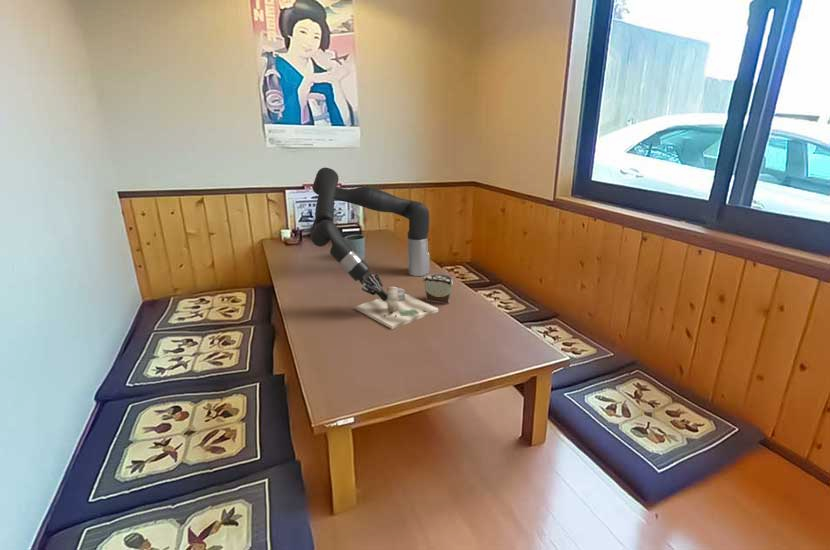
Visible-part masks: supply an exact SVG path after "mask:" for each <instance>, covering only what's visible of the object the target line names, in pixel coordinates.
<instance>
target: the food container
mask: <svg viewBox="0 0 830 550" xmlns="http://www.w3.org/2000/svg"><path fill="white" fill-rule="evenodd" d="M422 282H424V290H425V298H426V301H428V302H434V303H439V304H440V303H441V304H447V305H449V304H450V298H451V290H452V286H453V285H454V282H453V278H452V277H451V276H450V275H448V274H444V273H431V274H430V273H429V274H426V275H424V276H423V279H422Z"/></svg>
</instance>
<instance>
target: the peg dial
mask: <svg viewBox="0 0 830 550" xmlns="http://www.w3.org/2000/svg"><path fill="white" fill-rule="evenodd" d="M405 292H406V291H405V289H404V288H400V287H396V286H389V287H387V288H386V294H387V303H388V310H390V311H389V313H390V314H393V312H394V311H395V310H398V301H401V300H404V299H405V294H406V293H405Z"/></svg>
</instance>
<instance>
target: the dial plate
mask: <svg viewBox="0 0 830 550" xmlns="http://www.w3.org/2000/svg"><path fill="white" fill-rule="evenodd" d="M355 310H357V311H358V312H360V313H362V314H365V315H366V316H368V317H369V318H371V319H373V320H375V321H376V322H378V323H380V324H382V325H383V326H385V327H388V328H390V330H393V329H396V328H399V327H402V326H404V325H406V324H410V323H412V322H415V321H417V320H419V319H420V320H421V319H422V318H426V317H428V316H430V315H432V314H435V313H438V312H439V308H438V307H436V306H434V305H432V304H430V303H427V302H424V301H422V300H420V299H418V298H415V297H414V296H412V295H409V294H407V293H405V299H404V300H401V301H398V310H395V311H394V312H393V314H390V313H389V311H390V310H388V303H387V300H385V301H383V300H382V299H381V298H380V297H379V298H376V299H373V300H371V301H367V302H364V303H362V304H359V305H355Z"/></svg>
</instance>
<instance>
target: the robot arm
mask: <svg viewBox="0 0 830 550" xmlns="http://www.w3.org/2000/svg"><path fill="white" fill-rule="evenodd" d="M338 183H339V175H338V173H337V171H335V170H334V169H332V168H331V167H322V168H319V170H318V171H317V173H316V175H315V178H314V181H313V184H312V191H313V192H314V193H315V195H317V200H316V205H315V212H314V220H313V223H312V226H311V230H310V234H309V237H310V239H311V242H312V243H313V244H314V245H315V246H317V247H325V246H326V245H327V244H328V243H329V242H330V243H331V244H332V245H331V247H330V250H329V253H330V254H329V255H331V256H332V258H334V260H335V261H336V262H337V263H338V264H339V265H340V266H341V268H342V269H343V270H344V271H345V272H346V273H347V274H348V275H349V276H350V277H351V278H352V280H354V281H355V282H357V281H359V283H360V284H361V285H362V288H361V290H362V291H363V292H365V293H367V294H370V295H372V296H375V295H376V296H378V297H379V298H381V299H382V300H383V301H385V300H387V292H385V291H384V290H383V287H384V284H383V283H382V280H381V278H380V276H379V274H378V273H376V274H374V273H372V272H371V271H370V269H371V267H370V266H369V264H368V263H366V261H365V259H364V260H363V259H362V258H361V257H360V256H359V255H358V254H357V253H355V252H354V251H353V250H352V249H351V248H350V247H349V246H348V245H347V244H346V242H345V238H344V237H343V236H342V234H341V232H340V230H339V228H338V226H337V225H336V224H335V223H334V219H335V215H334V214H335V201H339V202H340V201H341V202H344V203H348V204H352V205H356V206H359V207H362V208H364V209H368V210H372V211H375V212H381V213H390V214H391V213H392V214H395V215H399V216H401V217H403V218H406V219H407V220H409V221H408V222H409V224H408V227H409V229H408V231H407V258H408V259H407V260H408V261H407V263H408V265H407V266H408V267H407V268H408V275H410V276H415V277H421V276H423V277H424V276H426V275H429V274H430V272H431V271H430V270H431V269H430V268H431V267H430V266H431V265H430V261H431V259H430V252H429V249H428V248H429V241H428V240H429V232H430V211H429V209H428V207H427V205H425V204H423V203H422V202H419V201H416V200H410V199H407V198H406V199H405V198H401V197H398V196H396V195H393V194H391V193H388V192H387V191H383V190H381V189H379V188H375V187H373V186H367V185H366V186H359V187H355V188H354V187H353V188H342V187H337V186H338ZM428 273H429V274H428Z"/></svg>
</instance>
